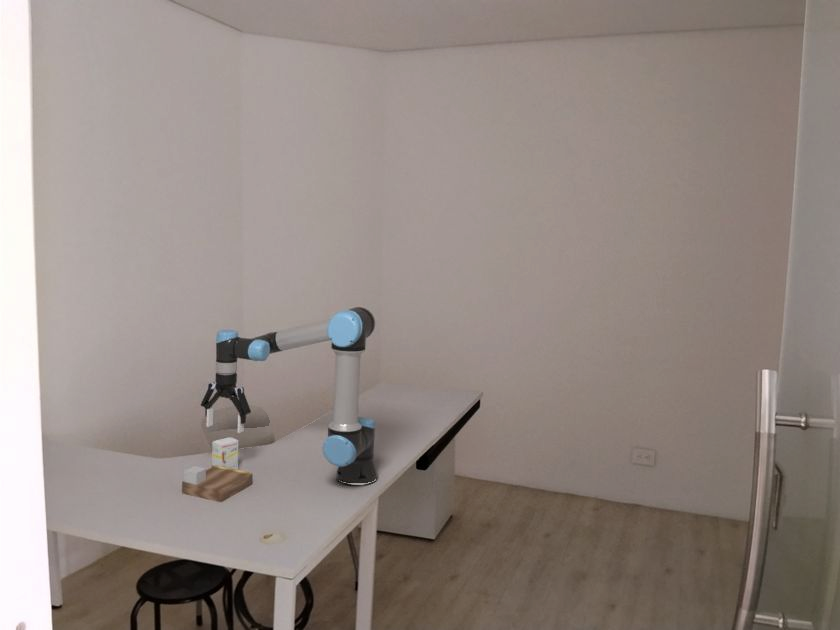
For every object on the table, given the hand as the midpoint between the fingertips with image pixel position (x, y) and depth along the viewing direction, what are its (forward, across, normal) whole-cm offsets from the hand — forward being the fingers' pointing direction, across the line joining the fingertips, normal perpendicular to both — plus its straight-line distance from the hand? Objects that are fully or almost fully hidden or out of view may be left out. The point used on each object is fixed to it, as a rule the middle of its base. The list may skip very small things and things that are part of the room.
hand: (225, 428), depth 266 cm
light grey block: (+12, -3, +21) cm, 25 cm away
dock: (+16, -8, +15) cm, 24 cm away
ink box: (+16, 0, 0) cm, 17 cm away
